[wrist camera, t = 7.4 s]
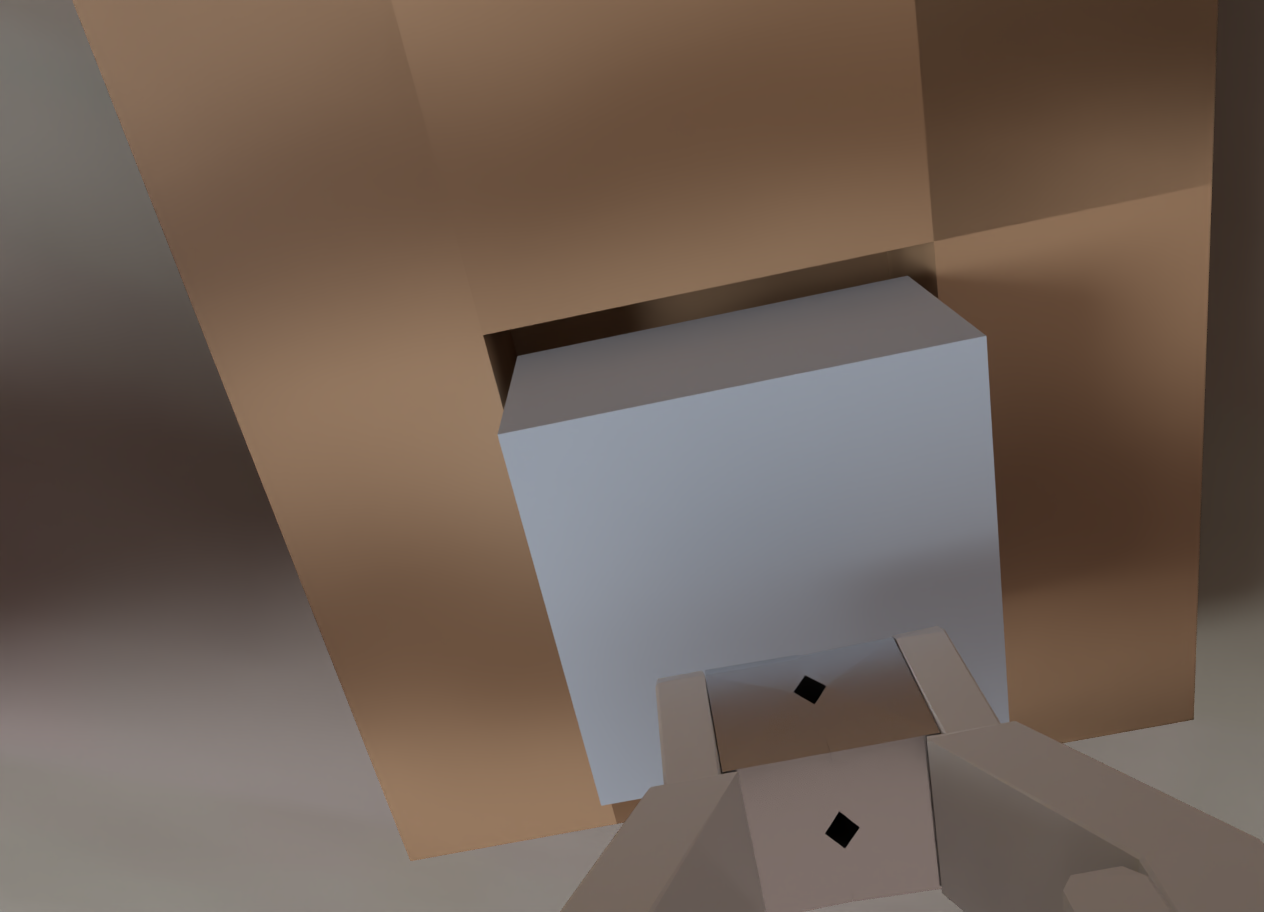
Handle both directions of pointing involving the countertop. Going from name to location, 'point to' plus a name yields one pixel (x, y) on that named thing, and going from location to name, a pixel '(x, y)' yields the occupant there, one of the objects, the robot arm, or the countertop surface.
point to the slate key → (755, 499)
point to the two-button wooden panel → (675, 305)
